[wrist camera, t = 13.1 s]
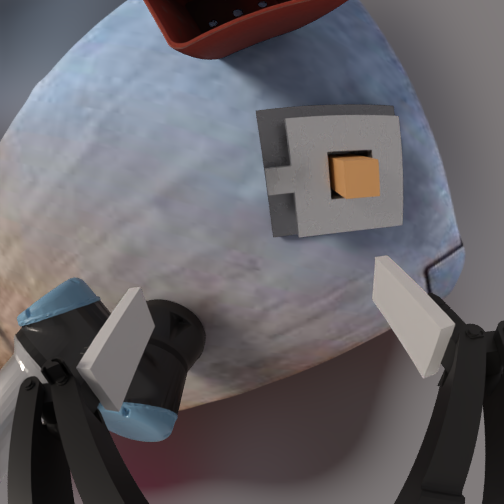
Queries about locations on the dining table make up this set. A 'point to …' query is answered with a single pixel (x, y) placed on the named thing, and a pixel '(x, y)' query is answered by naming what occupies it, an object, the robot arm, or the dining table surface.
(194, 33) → the plant pot
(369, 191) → the orange rectangular block
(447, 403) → the robot arm
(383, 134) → the tabbed square frame
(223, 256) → the dining table surface
